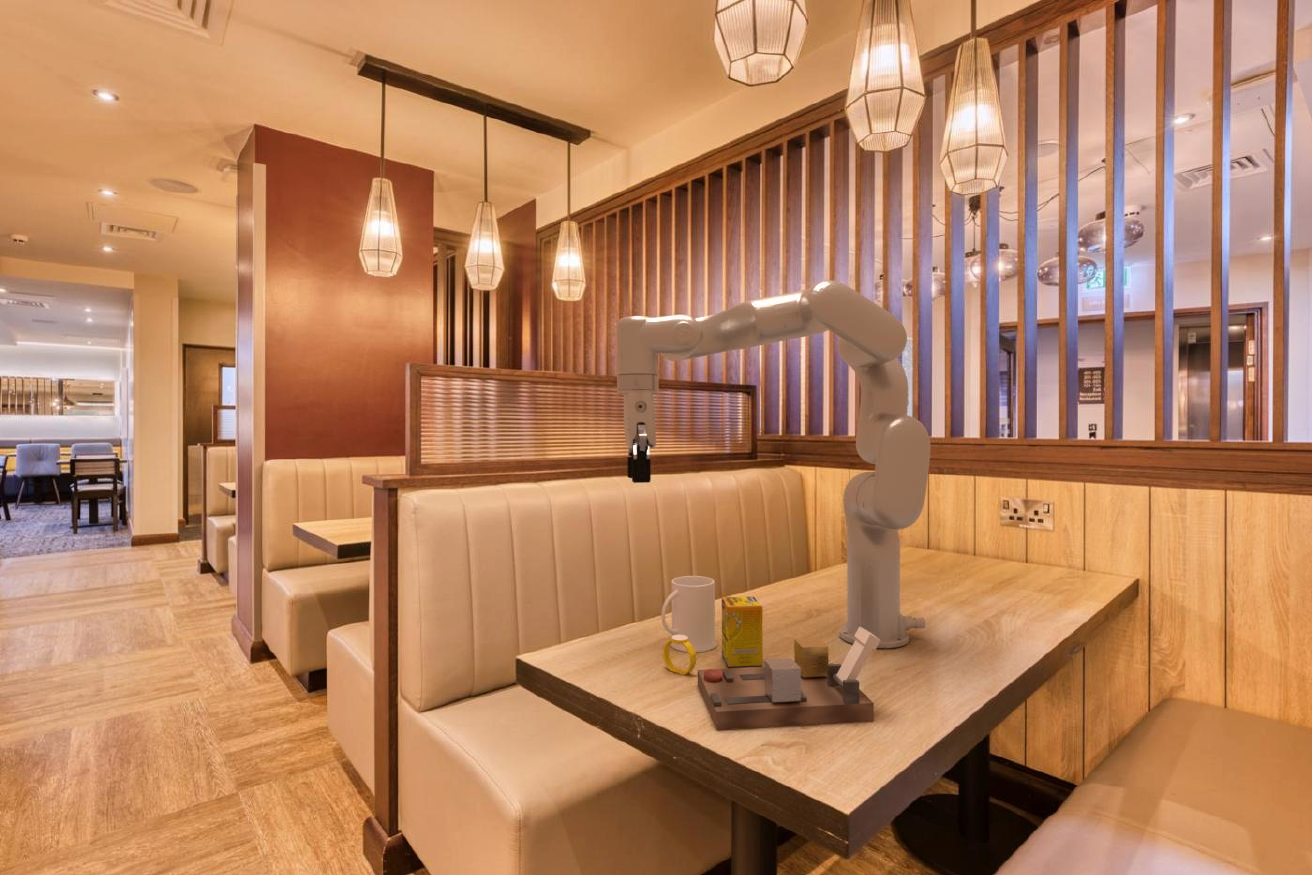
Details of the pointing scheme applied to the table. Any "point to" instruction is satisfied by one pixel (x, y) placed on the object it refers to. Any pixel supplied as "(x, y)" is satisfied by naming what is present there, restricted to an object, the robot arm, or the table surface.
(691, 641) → the mug
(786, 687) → the grey knob
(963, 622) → the table surface
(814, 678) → the console
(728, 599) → the supplement box
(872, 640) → the pale pink t-block
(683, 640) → the watch
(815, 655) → the brass knob
